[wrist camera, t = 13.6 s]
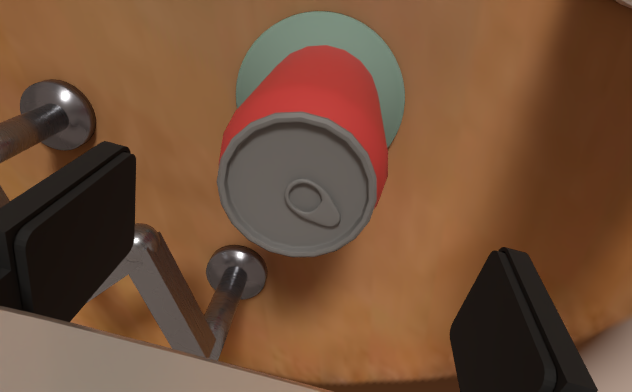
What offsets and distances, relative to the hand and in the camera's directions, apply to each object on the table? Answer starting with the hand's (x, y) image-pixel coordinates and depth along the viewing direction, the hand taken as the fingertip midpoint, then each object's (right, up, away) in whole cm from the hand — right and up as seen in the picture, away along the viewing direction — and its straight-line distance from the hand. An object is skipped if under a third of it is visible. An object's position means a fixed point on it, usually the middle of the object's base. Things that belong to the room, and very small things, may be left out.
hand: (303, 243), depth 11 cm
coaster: (+1, +7, +15) cm, 16 cm away
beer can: (+1, +7, +14) cm, 16 cm away
